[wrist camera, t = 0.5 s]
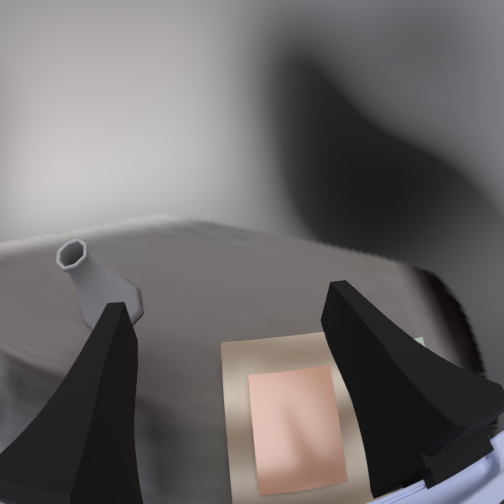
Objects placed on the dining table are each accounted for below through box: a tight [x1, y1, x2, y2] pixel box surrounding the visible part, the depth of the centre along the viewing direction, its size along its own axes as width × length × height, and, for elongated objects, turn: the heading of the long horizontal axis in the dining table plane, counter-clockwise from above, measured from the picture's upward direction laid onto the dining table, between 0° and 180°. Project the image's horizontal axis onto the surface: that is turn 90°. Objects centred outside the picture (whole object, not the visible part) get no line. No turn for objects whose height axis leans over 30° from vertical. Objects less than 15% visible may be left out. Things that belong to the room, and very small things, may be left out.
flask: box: [56, 237, 143, 331], centre depth 28 cm, size 7×7×10 cm
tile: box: [248, 365, 348, 495], centre depth 20 cm, size 9×6×2 cm, turn 5°
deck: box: [221, 332, 394, 504], centre depth 23 cm, size 16×12×4 cm
